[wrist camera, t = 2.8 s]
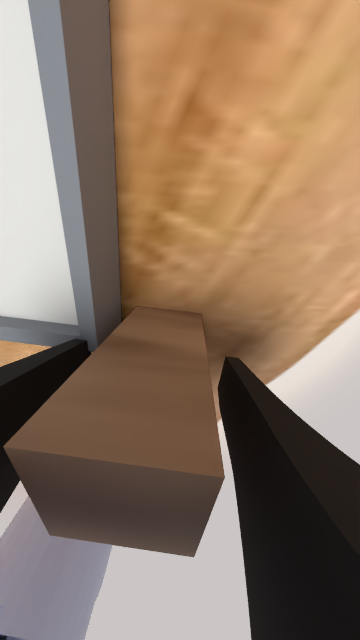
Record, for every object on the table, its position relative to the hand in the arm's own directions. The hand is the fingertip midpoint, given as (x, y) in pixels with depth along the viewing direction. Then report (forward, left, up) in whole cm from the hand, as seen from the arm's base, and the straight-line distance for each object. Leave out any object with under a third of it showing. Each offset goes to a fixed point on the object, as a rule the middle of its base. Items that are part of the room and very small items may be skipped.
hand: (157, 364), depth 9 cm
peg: (0, 0, -3) cm, 3 cm away
